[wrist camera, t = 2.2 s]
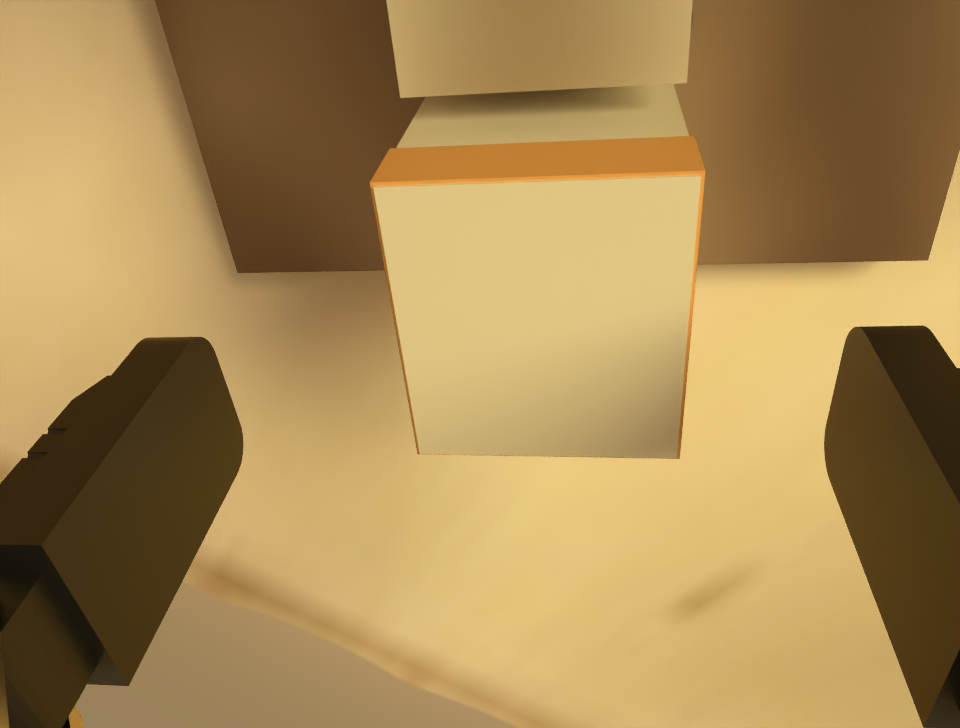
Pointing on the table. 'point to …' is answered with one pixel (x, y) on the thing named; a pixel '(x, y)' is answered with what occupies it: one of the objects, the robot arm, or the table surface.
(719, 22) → the ticket board
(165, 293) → the table surface
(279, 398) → the table surface
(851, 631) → the table surface
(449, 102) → the orange-striped cream block
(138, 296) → the table surface
